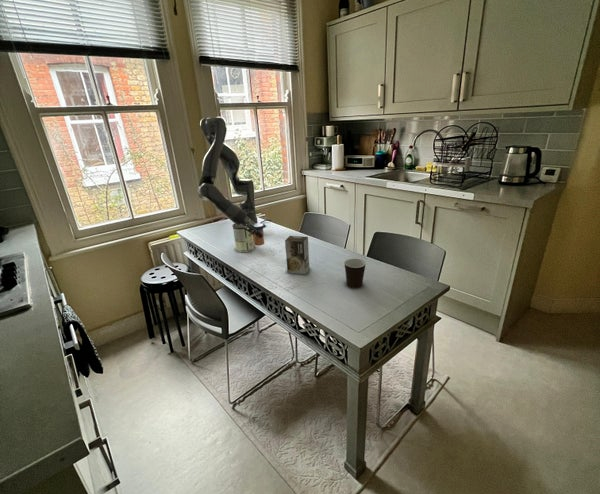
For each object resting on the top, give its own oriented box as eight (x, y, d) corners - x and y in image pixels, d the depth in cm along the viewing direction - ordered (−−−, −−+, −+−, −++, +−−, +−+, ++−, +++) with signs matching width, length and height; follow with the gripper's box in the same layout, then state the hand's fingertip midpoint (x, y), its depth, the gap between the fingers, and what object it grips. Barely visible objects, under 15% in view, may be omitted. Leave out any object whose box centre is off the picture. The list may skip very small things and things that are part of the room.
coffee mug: (360, 291, 127) (360, 269, 123) (340, 286, 132) (340, 264, 127) (370, 279, 136) (371, 258, 132) (351, 275, 140) (352, 254, 136)
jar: (257, 241, 164) (255, 223, 160) (266, 242, 162) (264, 225, 158) (251, 244, 160) (249, 227, 156) (260, 246, 157) (258, 228, 154)
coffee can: (238, 245, 180) (235, 221, 174) (256, 245, 179) (253, 221, 173) (233, 252, 170) (229, 227, 165) (252, 252, 169) (249, 227, 164)
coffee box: (309, 268, 148) (308, 236, 142) (305, 274, 143) (304, 241, 136) (291, 266, 151) (289, 235, 144) (286, 272, 145) (284, 240, 139)
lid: (256, 226, 161) (255, 222, 160) (265, 227, 159) (265, 224, 158) (249, 229, 156) (249, 226, 156) (259, 231, 154) (258, 227, 153)
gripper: (239, 212, 146) (267, 234, 152) (240, 204, 159) (266, 225, 165) (229, 224, 147) (257, 245, 153) (231, 215, 160) (257, 235, 166)
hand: (261, 234), depth 159 cm, fingers closed on jar, lid, 5 cm apart
